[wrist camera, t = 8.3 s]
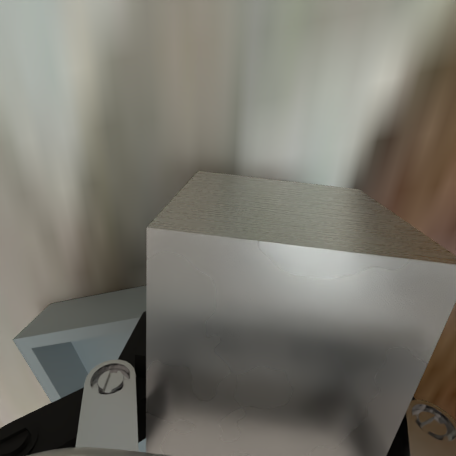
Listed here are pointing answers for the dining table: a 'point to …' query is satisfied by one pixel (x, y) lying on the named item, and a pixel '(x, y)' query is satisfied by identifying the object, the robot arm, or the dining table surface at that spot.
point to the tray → (79, 339)
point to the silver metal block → (286, 319)
